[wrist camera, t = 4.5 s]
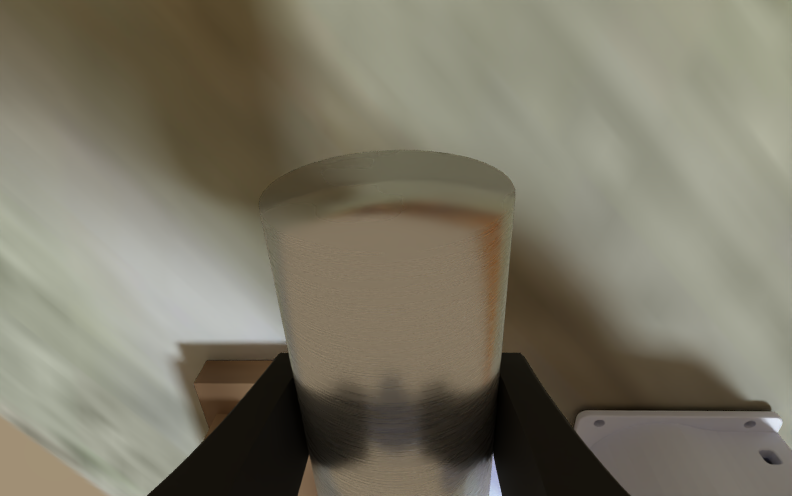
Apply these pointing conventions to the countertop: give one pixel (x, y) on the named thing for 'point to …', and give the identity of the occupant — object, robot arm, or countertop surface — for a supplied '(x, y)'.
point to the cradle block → (235, 398)
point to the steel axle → (394, 316)
